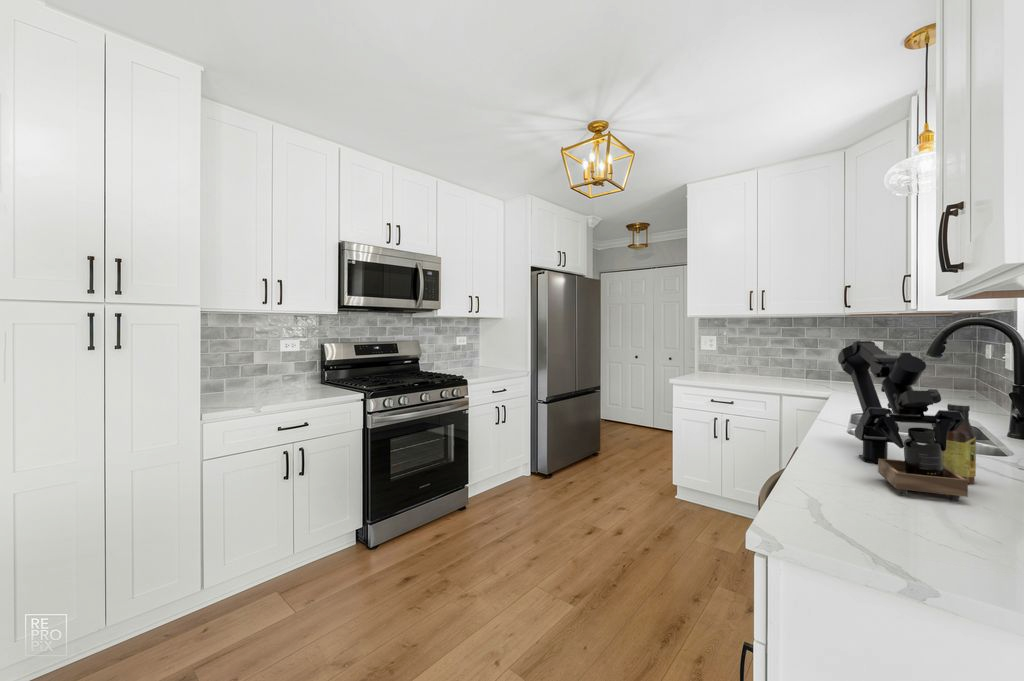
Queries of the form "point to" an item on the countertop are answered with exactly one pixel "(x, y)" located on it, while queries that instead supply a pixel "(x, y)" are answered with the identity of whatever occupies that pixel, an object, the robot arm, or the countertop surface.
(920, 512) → the countertop surface
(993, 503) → the countertop surface
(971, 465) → the sauce bottle
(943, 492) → the square wooden tray
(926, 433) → the supplement bottle
